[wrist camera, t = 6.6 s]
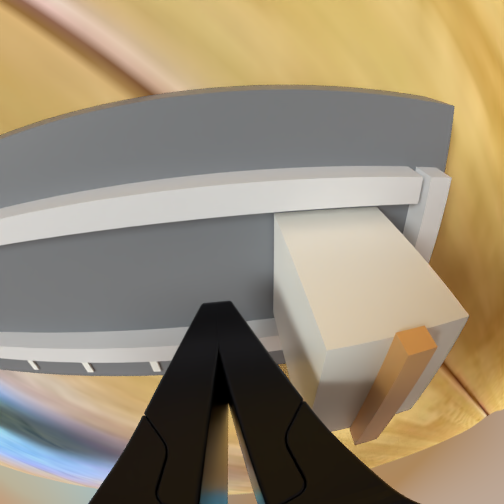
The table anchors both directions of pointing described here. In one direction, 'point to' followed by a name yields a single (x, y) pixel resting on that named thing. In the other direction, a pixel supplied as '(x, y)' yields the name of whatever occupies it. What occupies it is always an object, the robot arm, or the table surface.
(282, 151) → the fader console
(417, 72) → the table surface
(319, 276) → the fader knob
